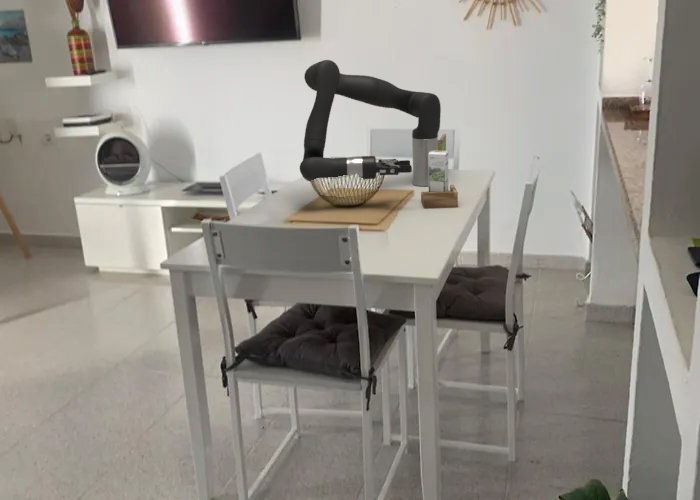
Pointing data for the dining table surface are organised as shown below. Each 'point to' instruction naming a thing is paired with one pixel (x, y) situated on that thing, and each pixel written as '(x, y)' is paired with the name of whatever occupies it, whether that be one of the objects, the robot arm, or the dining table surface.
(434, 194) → the walnut tray
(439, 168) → the syrup box
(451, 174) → the dining table surface
